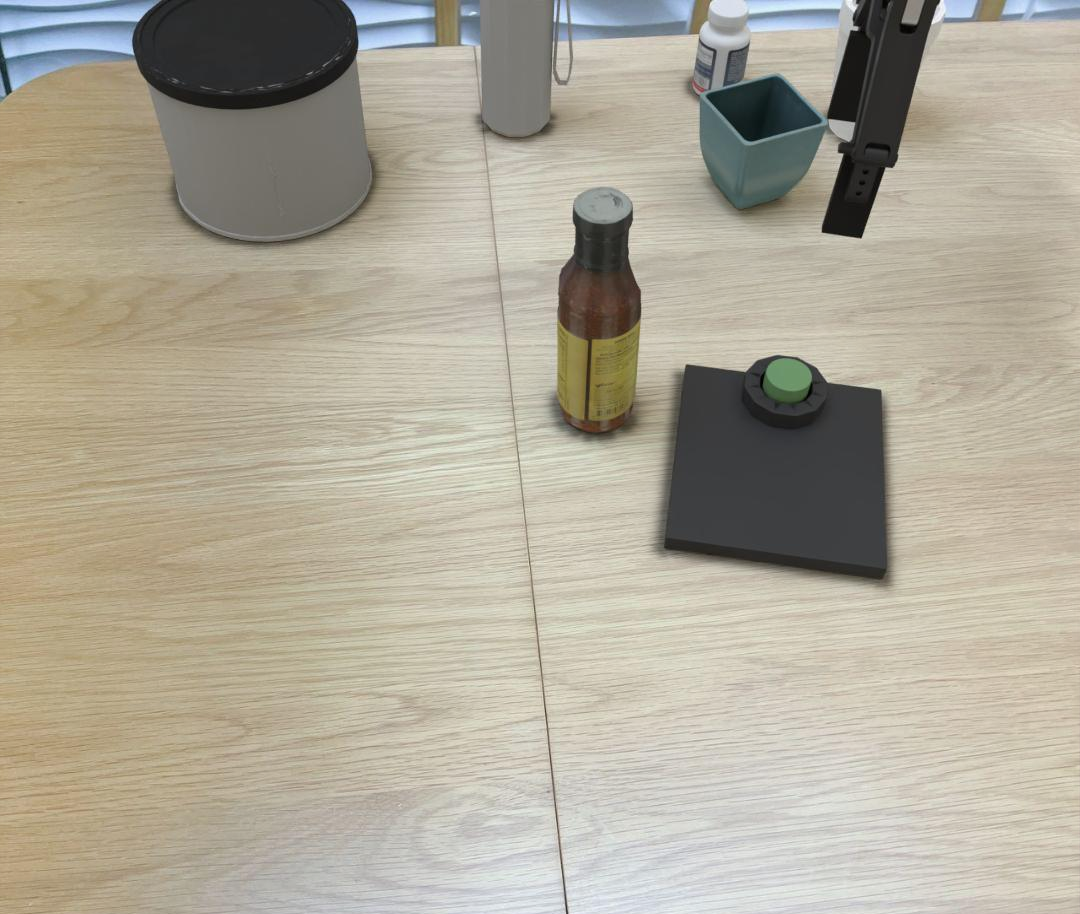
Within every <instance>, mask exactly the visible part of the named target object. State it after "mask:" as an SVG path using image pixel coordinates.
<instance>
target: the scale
mask: <svg viewBox="0 0 1080 914" xmlns="http://www.w3.org/2000/svg"><path fill="white" fill-rule="evenodd" d="M783 358H789V359H794V360H797V361H800V362H801V363H803V364H804V365H806V366H807V367H808V368H809V370H810V372H811V374H812V381H811V384H810V387H809V390H808V394H807V396H806V397H805V398H804V399H803V400H802V401H800V402H798V403H795V404H785V403H778V402H776V401H775V400H773V399H771V398H769V397H768V396H767V395H766V393H765V392H764V389H763V381H764V377H765V373H766V370H767V367H768V366H769V364H770V363H772V362H773V361H775V360H778V359H783ZM882 396H883V395H882V389H881V388H874V387H873V388H871V387H863V386H858V385H850V384H849V385H848V384H842V383H834V382H828V381H827V379H826V378H825V377H824V376H823V374H822V373H821V371H820V370H819V369H818V367H816V366H814V365H813V364H811V363H809V362H807V361H805V360H803V359H801V358H800V357H798V356H790V355H781V354H775V355H771V356H767V357H763V358H759V359H756V360H755V362H754V363H752V365H751V366H750V367H749V368H748V369H747V370H745V371H742V370H736V369H735V370H733V369H727V368H719V367H711V366H704V365H696V364H688V363H687V364H685V366H684V370H683V377H682V386H681V394H680V403H679V411H678V421H677V428H676V437H675V446H674V447H675V448H674V455H673V464H672V473H671V481H670V491H669V498H668V506H667V507H668V508H667V515H666V524H665V533H664V534H665V535H664V542H663V549H667V550H673V551H681V552H686V553H687V552H688V553H695V554H702V555H709V556H714V557H715V556H716V557H722V558H731V559H735V560H744V561H751V562H757V563H766V564H770V565H771V564H772V565H778V566H786V567H791V568H800V569H806V570H807V569H808V570H814V571H820V572H827V573H834V574H842V575H849V576H855V577H862V578H863V577H864V578H870V579H877V580H883V579H884V577H885V575H886V573H887V570H888V553H887V552H888V549H887V519H886V518H887V516H886V487H885V460H884V459H885V457H884V430H883V429H884V428H883V397H882Z"/></svg>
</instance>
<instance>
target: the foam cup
mask: <svg viewBox="0 0 1080 914" xmlns="http://www.w3.org/2000/svg"><path fill="white" fill-rule="evenodd" d="M858 5H859V4H856V0H842V2H841V6H840V9H839V12H838V13H839V14H838V19H837V20H838V23H839V26H838V36H837V44H836V53H835V61H834V70H833V78H832V86H831V93H830V94H831V95H830V99H831V98H832V95H833V91H834V88H835V84H836V80H837V77H838V73H839V70H840V66H841V62H842V59H843V55H844V52H845V48H846V44H847V41H848V37H849V33H850V30H855V31H857V30H858V27H856V26H853V20H852V18H853V14H854V13H855V10H856V9H857V7H858ZM946 14H947V7H946V4H945V1H944V0H940V3H939V5H937V7H936V11H935V14H934V17H933V20H932V23H931V27H930V30H929V33H928V36H927V40H926V44H925V48H924V52H923V56H922V60H921V64H920V68H919V71H920V70H921V68H922V66H923V63H924V62H925V60H926V57H927V56H928V53H929V52H930V49H931V48H932V46H933V45H934V43H935V41H936V40H937V38H938V36H939V35H940V32H941V29H942V26H943V22H944V19H945V17H946ZM828 123H829V124H828V127H829V130H830V131H831V132H833V134H834V135H835V136H836V137H838V138H840V139H842V140H844V141H845V142H850V140H852V136H853V132H854V127H855V123H854V122H847V121H840V120H832V119H828Z"/></svg>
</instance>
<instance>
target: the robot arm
mask: <svg viewBox="0 0 1080 914" xmlns="http://www.w3.org/2000/svg"><path fill="white" fill-rule="evenodd" d="M939 3H940V0H856V4H859V5H858V7H857V9H856V10H855V13H854V14H853V18H852V20H853V26H856V27H858V30H857V31H855V30H850V33H849V37H848V41H847V44H846V48H845V52H844V55H843V59H842V62H841V66H840V70H839V73H838V77H837V80H836V84H835V88H834V91H833V95H832V98H831V97H830V102H829V106H828V110H827V116H826V120H829V119H832V120H840V121H847V122H854V123H855V127H854V132H853V136H852V140H850V142H848V141H840V142H839V143H838V144H837V154H843V155H842V157H841V160H840V164H839V167H838V171H837V174H836V177H835V181H834V184H833V188H832V190H831V194H830V197H829V200H828V204H827V207H826V210H825V213H824V217H823V220H822V224H821V234H826V235H827V234H828V235H832V236H833V235H834V236H841V237H847V238H852V239H853V238H854V239H861V240H862V239H863V235H864V234H865V230H866V227H867V224H868V222H869V218H870V215H871V212H872V210H873V206H874V203H875V200H876V197H877V195H878V191H879V189H880V186H881V184H882V180H883V177H884V175H885V171H886V168H887V169H894V167H895V166H896V164H897V162H898V159H899V150H900V146H901V142H902V139H903V135H904V130H905V126H906V122H907V119H908V115H909V110H910V106H911V102H912V98H913V95H914V91H915V87H916V83H917V79H918V76H919V73H920V70H919V68H920V64H921V60H922V56H923V52H924V48H925V44H926V40H927V36H928V33H929V30H930V27H931V23H932V20H933V17H934V14H935V11H936V7H937V5H939ZM920 69H921V68H920Z"/></svg>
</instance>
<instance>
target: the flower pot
mask: <svg viewBox="0 0 1080 914" xmlns="http://www.w3.org/2000/svg"><path fill="white" fill-rule="evenodd" d="M828 127H829V120H828V119H827V117H825V116H824V115H823V114H822V113H821V112H820V111H819V110H818V109H817V108H816V107H815V106H814V105H813V104H812V103H810V101H809V100H808V99H807V98H805V96H803V94H802V93H801V92H800V91H798V89H797V88H796V87H795V86H794V85H793V83H791V82H790V81H789V80H788V79H787V78H786V77H785V76H784V75H782V74H781V73H779V72H775V73H771V74H767V75H763V76H762V75H761V76H759V77H756V78H752V79H748V80H743V82H740V83H736V84H732V85H729V86H725V87H721V88H717V89H712V90H708V91H705V92H702V93H701V94H700V95H699V145H700V150H701V151H700V152H701V156H702V159H703V162H704V164H705V167H706V169H707V171H708V173H709V176H710V178H711V179H712V182H713V183H714V184H715V185H716V186H717V188H718V189H719V190H720V191H721V192H722V193H723V194H724V196H726V198H727V199H728V200H729V202H731V204H732V205H733V207H735V208H736V209H738V210H743V209H746V208H751V207H754V206H757V205H760V204H763V203H768V202H771V201H775V200H778V199H781V198H783V197H784V196H785V195H787V194H788V193H789V192H790V191H791V190H793V189H794V188H795V187H796V186H797V185H798V184H799V183H800V182H801V180H802V179H803V178H804V177H805V176H806V174H807V173H808V171H809V169H810V168H811V167H812V165H813V162H814V159H815V157H816V156H817V155H816V154H817V152H818V150H819V148H820V146H821V143H822V141H823V138H824V136H825V133H826V131H827V128H828Z"/></svg>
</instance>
